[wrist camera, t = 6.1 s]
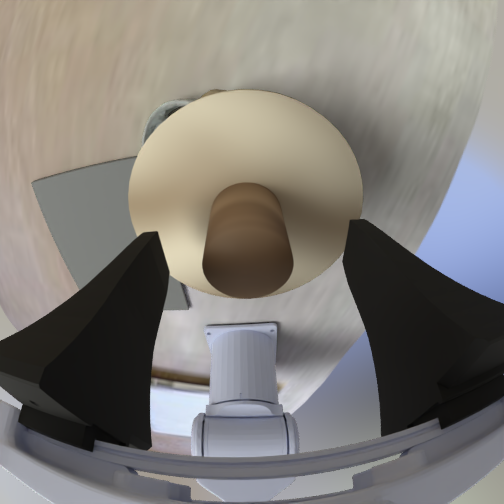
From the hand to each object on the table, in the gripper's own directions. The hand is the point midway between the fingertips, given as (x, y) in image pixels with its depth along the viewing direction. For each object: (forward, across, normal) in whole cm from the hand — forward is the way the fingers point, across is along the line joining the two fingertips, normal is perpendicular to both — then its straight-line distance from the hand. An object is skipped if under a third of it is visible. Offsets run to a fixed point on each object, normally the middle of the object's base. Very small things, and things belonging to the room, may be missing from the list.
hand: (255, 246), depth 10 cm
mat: (+10, +13, +7) cm, 18 cm away
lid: (+3, 0, 0) cm, 3 cm away
